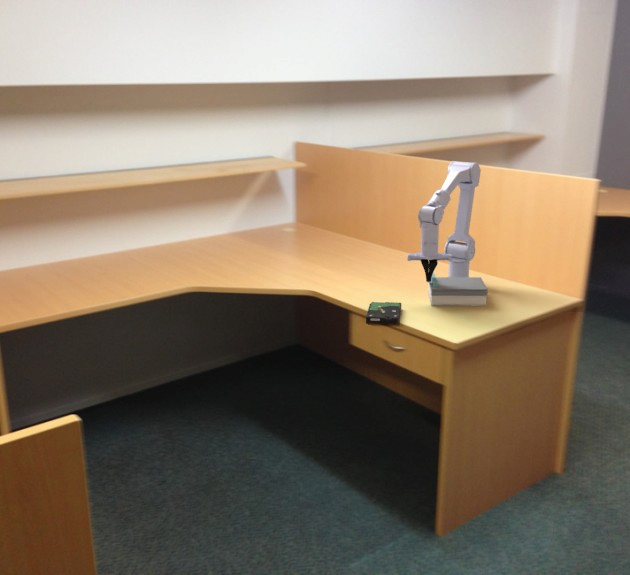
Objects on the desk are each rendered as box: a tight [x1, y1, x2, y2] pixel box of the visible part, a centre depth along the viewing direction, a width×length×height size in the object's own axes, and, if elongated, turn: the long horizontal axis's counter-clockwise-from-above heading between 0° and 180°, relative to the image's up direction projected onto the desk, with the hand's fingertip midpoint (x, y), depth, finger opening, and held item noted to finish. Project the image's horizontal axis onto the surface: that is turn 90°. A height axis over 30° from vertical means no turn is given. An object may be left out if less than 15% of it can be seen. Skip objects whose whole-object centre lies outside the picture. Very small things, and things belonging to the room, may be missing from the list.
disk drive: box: [365, 301, 402, 325], centre depth 222 cm, size 10×3×15 cm
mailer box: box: [427, 282, 487, 307], centre depth 235 cm, size 13×18×5 cm
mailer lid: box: [429, 273, 489, 297], centre depth 234 cm, size 15×18×4 cm
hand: (428, 280), depth 234 cm, fingers closed
